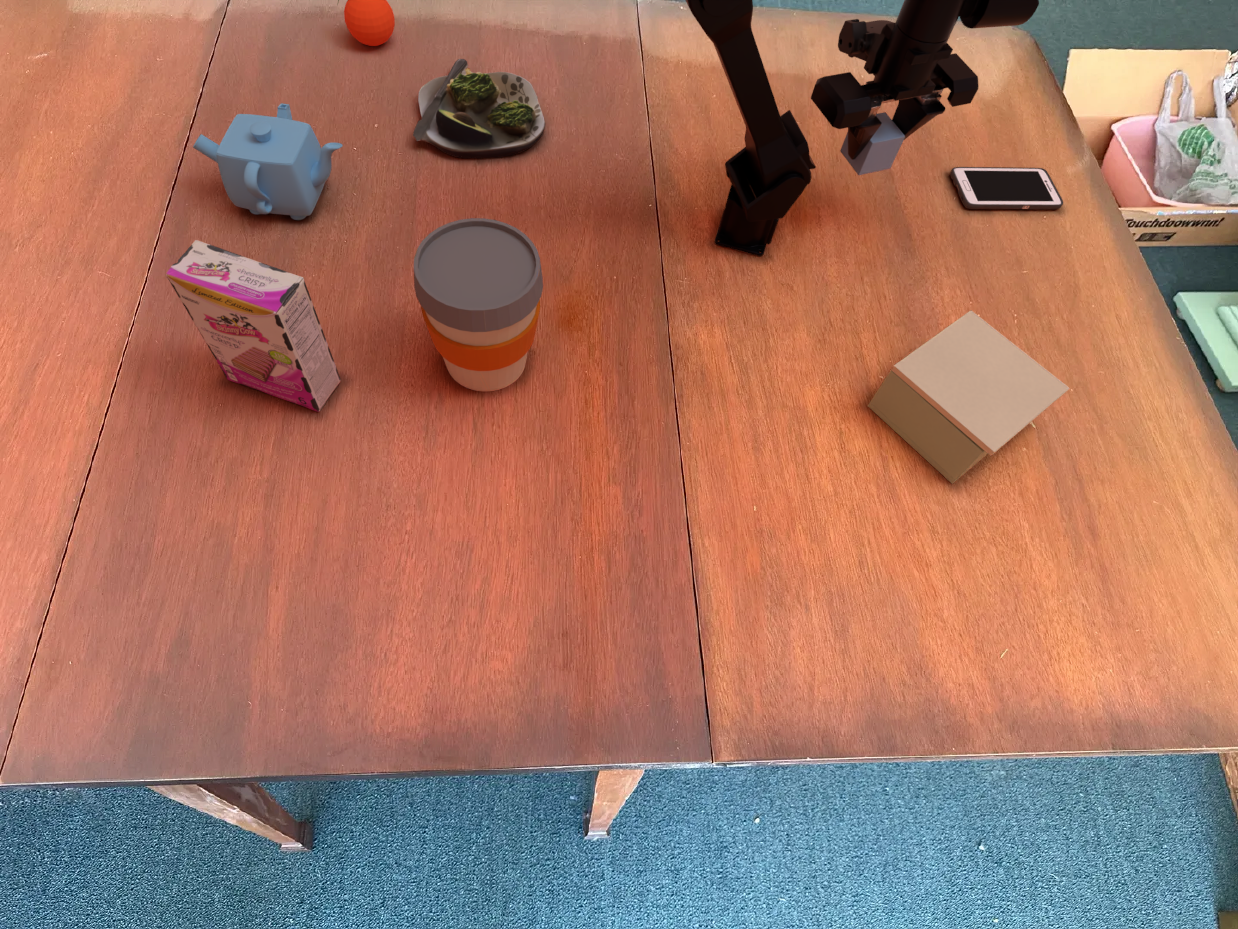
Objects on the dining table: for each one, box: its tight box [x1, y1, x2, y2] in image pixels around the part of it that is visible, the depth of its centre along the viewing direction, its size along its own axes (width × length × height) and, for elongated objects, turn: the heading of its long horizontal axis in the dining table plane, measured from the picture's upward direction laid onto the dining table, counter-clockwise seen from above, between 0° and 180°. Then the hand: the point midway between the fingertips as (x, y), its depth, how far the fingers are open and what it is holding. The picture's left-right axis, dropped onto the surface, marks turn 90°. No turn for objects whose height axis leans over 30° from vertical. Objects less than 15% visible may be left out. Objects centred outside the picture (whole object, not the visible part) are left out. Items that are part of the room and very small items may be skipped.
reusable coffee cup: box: [413, 217, 544, 392], centre depth 81 cm, size 13×13×15 cm
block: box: [839, 111, 906, 176], centre depth 93 cm, size 5×5×5 cm
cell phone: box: [949, 166, 1064, 210], centre depth 110 cm, size 8×15×1 cm, turn 96°
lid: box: [890, 309, 1071, 457], centre depth 83 cm, size 13×14×1 cm
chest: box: [867, 369, 989, 485], centre depth 86 cm, size 13×14×7 cm
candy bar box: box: [165, 239, 342, 413], centre depth 76 cm, size 11×5×16 cm, turn 71°
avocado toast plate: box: [412, 58, 546, 159], centre depth 106 cm, size 19×18×5 cm
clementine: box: [336, 0, 396, 47], centre depth 111 cm, size 8×7×7 cm
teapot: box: [192, 103, 344, 221], centre depth 93 cm, size 18×14×10 cm
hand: (868, 153), depth 94 cm, fingers closed on block, 4 cm apart
